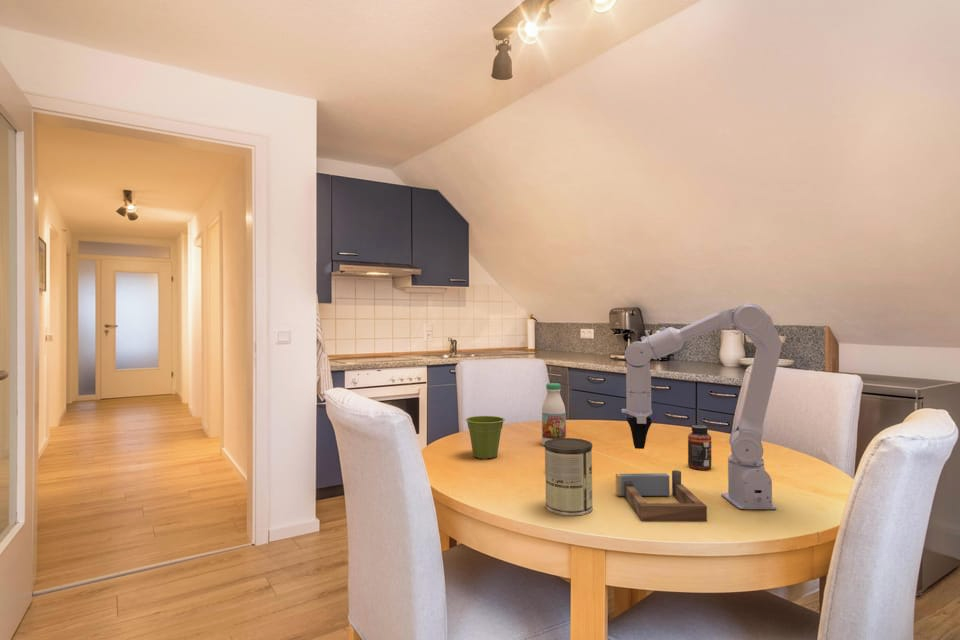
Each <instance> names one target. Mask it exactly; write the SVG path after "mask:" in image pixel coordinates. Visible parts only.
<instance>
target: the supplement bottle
mask: <svg viewBox="0 0 960 640" xmlns="http://www.w3.org/2000/svg"><path fill="white" fill-rule="evenodd" d="M687 463H688V467H689V468H691V469H693V470H698V471H699V470H701V471H704V470H705V471H707V470H710V469H711V468H712V436H711V435H710V434H709V433H708V426H706V425H702V424H700V425H699V424H696V425H691V432H690V433H688V435H687Z"/></svg>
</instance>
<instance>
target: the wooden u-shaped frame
mask: <svg viewBox="0 0 960 640" xmlns="http://www.w3.org/2000/svg"><path fill="white" fill-rule="evenodd" d="M624 495H625V496H624V498H625V500H626V501H627V502H628V505H630V507H631V508H632V509H633V511H634V512H635V514H636V515H637V517H638V518H639V519H640V520H641V521H642V522H650V521H651V522H708V510H707V509H708V506H707V504H705V503H704V502H703V501H702V500H701V499H699V498H698V497H697V496H696V495H695V494H694V493H693V492H691V491H690V490H689V489H688V488H687V487H686V486H685V485H684V484H682V471H680V470H677V469H676V470H675V469H674V470H672V471H671V496H672V497H675V499H676V500H677V501H679V502H678V503H673V502H672V503H671V502H670V503H661V502H659V503H658V502H653V503H650V502H647V501H646V499H644V497H643V496H641V495H640V494H639V493H638V491H637V490H636V489H635V488H634V487H633V483H632V482H624Z"/></svg>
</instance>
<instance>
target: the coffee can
mask: <svg viewBox="0 0 960 640" xmlns="http://www.w3.org/2000/svg"><path fill="white" fill-rule="evenodd" d="M544 444H545V446H544V457H545V458H544V462H545V463H544V464H545V465H544V466H545V467H544V469H545V471H544V473H545V508H546V510H547V511H548V512H550V513H553V514H556V515H561V516H567V517H568V516H569V517H572V516H573V517H575V516H576V517H577V516H584V515H587V514H589V513H591V512H592V511H593V508H594V507H593V462H592V461H593V456H592V455H593V453H592V450H593V442H591V441H589V440H585V439H581V438H573V437H572V438H571V437H566V438H557V439H551V440H548V441H546V442H545V443H544Z"/></svg>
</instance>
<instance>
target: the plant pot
mask: <svg viewBox="0 0 960 640" xmlns="http://www.w3.org/2000/svg"><path fill="white" fill-rule="evenodd" d="M464 420H465V421H466V423H467V427H468V431H469V436H470V437H469V438H470V442H471V444H470V445H471V450H472V455H473V457H474V458H478V459H480V458H484V459H483V460H487V459H486V458H490V459H492V458H497V457H498V454H499V453H498V452H499V446H500V440H501V433H502V430H503V425H504V422H505V421H506V418H504V417H500V416H496V415H495V416H494V415H475V416H469V417H466V418H465V419H464ZM496 456H497V457H496Z"/></svg>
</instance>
